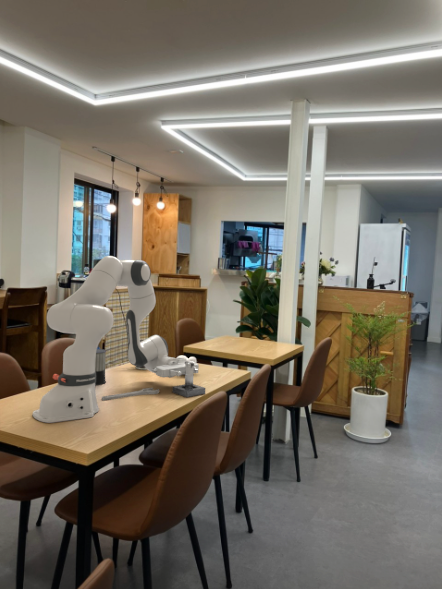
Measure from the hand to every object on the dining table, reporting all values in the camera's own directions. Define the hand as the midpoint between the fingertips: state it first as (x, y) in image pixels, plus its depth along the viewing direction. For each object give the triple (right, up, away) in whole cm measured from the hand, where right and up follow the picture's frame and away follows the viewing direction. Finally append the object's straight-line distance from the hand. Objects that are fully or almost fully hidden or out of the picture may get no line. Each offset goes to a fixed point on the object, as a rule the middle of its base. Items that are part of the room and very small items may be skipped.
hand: (188, 372), depth 198 cm
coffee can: (-26, -6, +49) cm, 56 cm away
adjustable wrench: (-24, -9, -6) cm, 26 cm away
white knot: (-4, -7, +35) cm, 36 cm away
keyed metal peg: (0, -9, 0) cm, 9 cm away
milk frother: (-47, -7, +14) cm, 49 cm away
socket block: (0, -9, 0) cm, 9 cm away
